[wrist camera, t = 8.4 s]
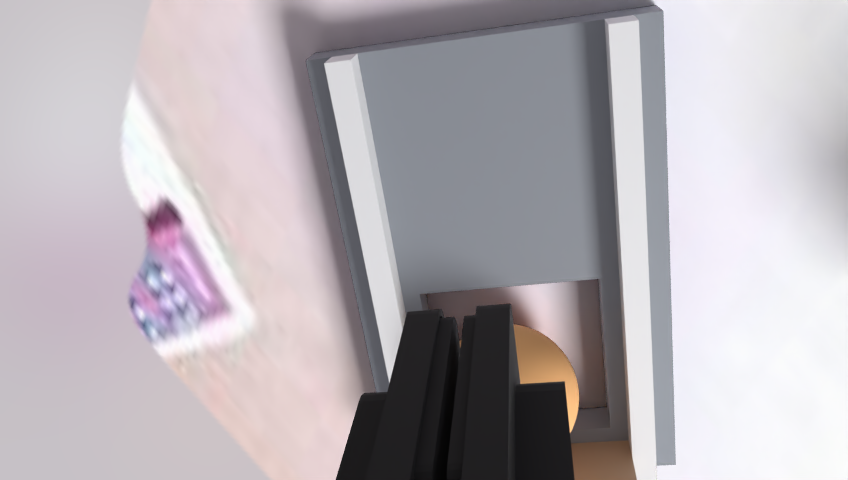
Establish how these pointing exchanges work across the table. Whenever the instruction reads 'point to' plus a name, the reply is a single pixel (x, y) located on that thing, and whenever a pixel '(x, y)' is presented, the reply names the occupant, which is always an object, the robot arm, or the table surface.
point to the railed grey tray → (516, 195)
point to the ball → (545, 365)
